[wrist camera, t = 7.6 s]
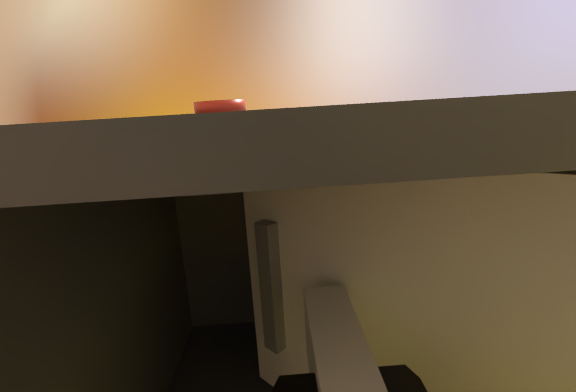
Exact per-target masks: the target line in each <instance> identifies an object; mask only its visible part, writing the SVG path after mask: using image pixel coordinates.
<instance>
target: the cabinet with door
mask: <svg viewBox="0 0 576 392" xmlns="http://www.w3.org/2000/svg"><path fill="white" fill-rule="evenodd" d="M194 109H195V114H181V115H166V116H148V117H131V118H114V119H97V120H81V121H65V122H47V123H31V124H15V125H0V392H272V389H273V386H272V385H270V384H269V383H268V382H266V381H265V380H264V379H262V378H261V377H260V372H259V361H258V350H257V340H256V329H255V318H254V307H253V296H252V285H251V274H250V263H249V252H248V242H247V231H246V220H245V209H244V198H243V192H252V191H267V190H282V189H297V188H313V187H328V186H343V185H358V184H374V183H389V182H404V181H419V180H435V179H450V178H465V177H481V176H496V175H511V174H526V173H542V172H557V171H572V170H576V91H563V92H547V93H531V94H513V95H497V96H480V97H463V98H447V99H430V100H413V101H399V102H398V101H397V102H380V103H365V104H347V105H330V106H316V107H315V106H314V107H298V108H280V109H264V110H247V111H246V109H245V100H216V101H204V102H203V101H202V102H194Z"/></svg>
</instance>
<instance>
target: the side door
mask: <svg viewBox="0 0 576 392" xmlns="http://www.w3.org/2000/svg"><path fill="white" fill-rule="evenodd" d="M243 198H244V209H245V220H246V231H247V242H248V252H249V263H250V274H251V285H252V296H253V307H254V318H255V329H256V340H257V350H258V361H259V372H260V377H261V378H262V379H264V380H265V381H266V382H268V383H269V384H270V385H272V386H273V387H274V385H275V383H276V381H277V379H278V377H279V375H292V374H305V373H309V367H308V360H307V352H306V332H305V312H304V292H303V288H307V287H321V286H335V285H344V286H345V288H346V291H347V293H348V296H349V298H350V301H351V303H352V305H353V308H354V310H355V313H356V315H357V318H358V320H359V323H360V325H361V327H362V330H363V332H364V335H365V337H366V340H367V342H368V344H369V347H370V349H371V352H372V354H373V357H374V359H375V361H376V364H377V366H391V365H404V364H405V365H406V366H407V367H408V368H409V369H411V370H412V371H413V372H414V373H415V374H416V375H417V376H419V377H420V379H421V381H422V382H423V384H424V386H425V388H426V390H427V391H428V392H576V170H572V171H557V172H542V173H526V174H511V175H496V176H481V177H465V178H450V179H435V180H419V181H404V182H389V183H374V184H358V185H343V186H328V187H313V188H297V189H282V190H267V191H252V192H243Z"/></svg>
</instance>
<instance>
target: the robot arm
mask: <svg viewBox="0 0 576 392" xmlns="http://www.w3.org/2000/svg"><path fill="white" fill-rule="evenodd" d="M303 292H304V312H305V332H306V352H307V360H308V367H309V373H305V374H292V375H279V377H278V379H277V381H276V383H275V385H274V387H273V389H272V392H428V391H427V390H426V388H425V386H424V384H423V382H422V381H421V379H420V377H419V376H417V375H416V374H415V373H414V372H413V371H412V370H411V369H409V368H408V367H407V366H406V365H405V364H404V365H391V366H377V364H376V361H375V359H374V357H373V354H372V352H371V349H370V347H369V344H368V342H367V340H366V337H365V335H364V332H363V330H362V327H361V325H360V323H359V320H358V318H357V315H356V313H355V310H354V308H353V305H352V303H351V301H350V298H349V296H348V293H347V291H346V288H345V286H344V285H335V286H321V287H307V288H303Z"/></svg>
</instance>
